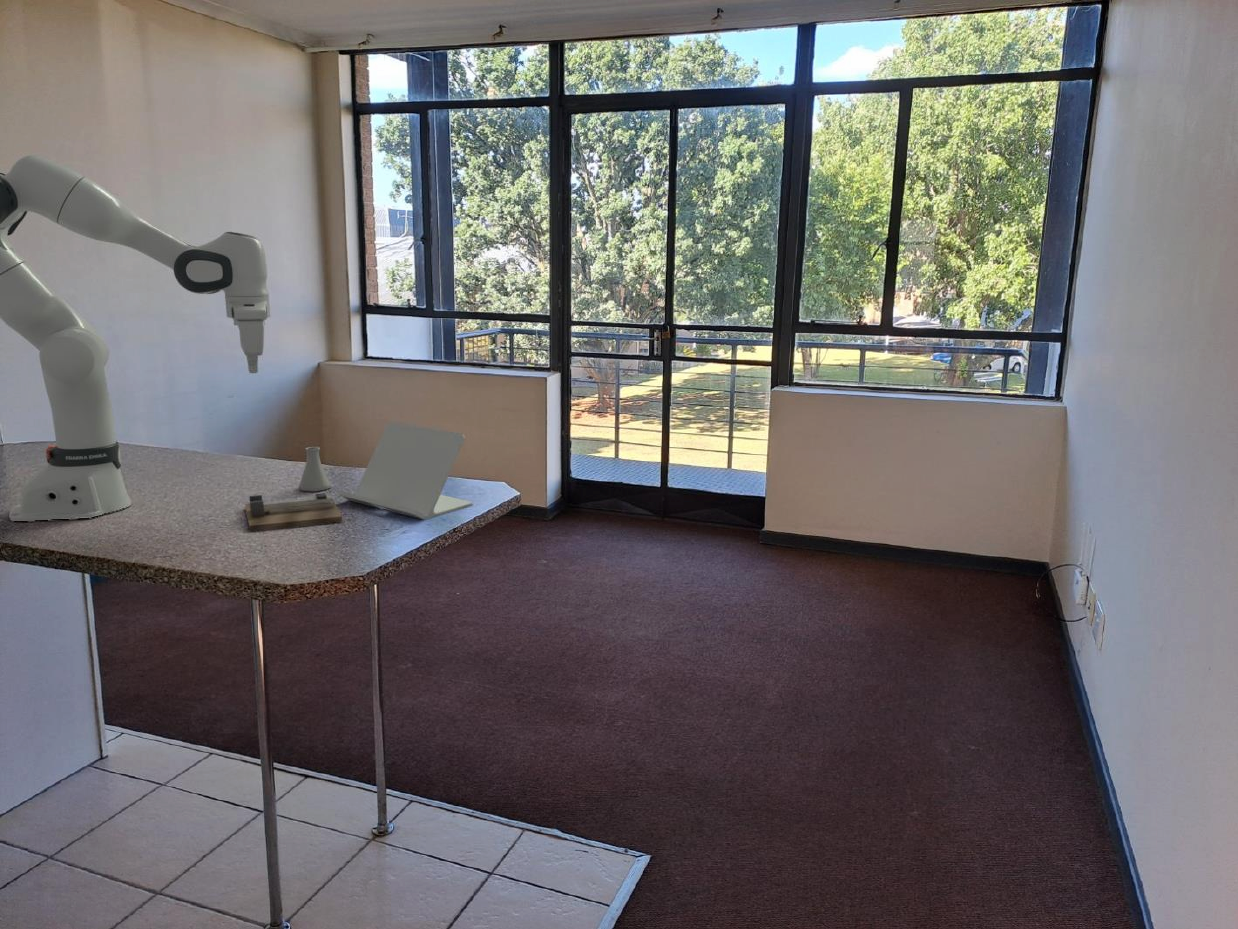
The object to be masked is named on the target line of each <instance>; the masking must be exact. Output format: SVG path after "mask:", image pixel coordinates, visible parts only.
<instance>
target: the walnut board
mask: <svg viewBox="0 0 1238 929" xmlns="http://www.w3.org/2000/svg"><path fill="white" fill-rule="evenodd" d="M331 499H332V502H333V507H332V508H322V509H311V510H301V511H291V512H281V513H271V514H269V509H264V516H262V517H252V512H251V509H250V502H249V503H245V504H244V505H245V513H246V518H247V523H248V528H249V532H256V531H257V532H258V531H266V530H277V528H279V529H287V528H297V526H298V527H305V525H307V526H313V525H312V524H317V525H323V524H322V523H326V524H333V523H332V522H336V523H342V522H343V516H342V514H341V512H340V510H339V509H338V507H337V504H336V503H335V501H334V499H333V498H332V496H331Z"/></svg>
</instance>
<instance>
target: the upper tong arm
mask: <svg viewBox="0 0 1238 929" xmlns="http://www.w3.org/2000/svg"><path fill="white" fill-rule="evenodd" d="M331 497H332V495H327V494H326V493H323V492H322V493H315V496H311V497H302V498H301V497H300V498H292V499H288V498H287V499H280V500H268V501H263V504H264V509H272V508H282V507H292V506H303V505H313V504H323V503H332V499H333V498H332V499H331ZM253 501H260V500H253ZM253 501H252V502H253Z"/></svg>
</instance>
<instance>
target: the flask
mask: <svg viewBox="0 0 1238 929" xmlns="http://www.w3.org/2000/svg"><path fill="white" fill-rule="evenodd" d="M304 449H305V452H306V462H305V466H304V469H303V472H302V477H301V480H300V483H299V485H298V488H299V490H300V491H303V492H313V493H314V492H319V491H325V489H326V490H328V489H330V488H332V484H331V483H330V480H329V478H328V477H327V475H326V472H325V470H324V467H323V465H322V463H321V458H320V450H321V448H320V447H319V446H309V447H305V448H304Z"/></svg>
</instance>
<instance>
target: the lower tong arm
mask: <svg viewBox="0 0 1238 929" xmlns="http://www.w3.org/2000/svg"><path fill="white" fill-rule="evenodd" d="M253 500H260V501H253ZM252 501H253V502H252ZM263 502H264V500H263V495H262V494H255V495H249V503H250V509H251V512H252V517H262V516H264V504H263ZM332 507H333V502H332V503H323V504H313V505H303V506H292V507H282V508H272V509H269V514H271V513H281V512H291V511H301V510H311V509H322V508H332Z"/></svg>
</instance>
